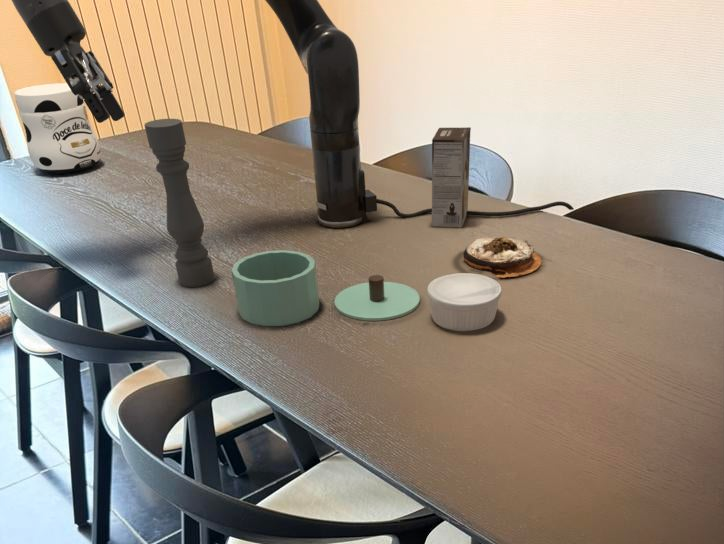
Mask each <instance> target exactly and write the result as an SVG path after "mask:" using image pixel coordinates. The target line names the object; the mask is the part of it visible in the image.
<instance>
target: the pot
mask: <svg viewBox="0 0 724 544" xmlns="http://www.w3.org/2000/svg"><path fill="white" fill-rule="evenodd" d="M230 272H231V277H232V282H233V289H234V292H235V293H234V294H235V299H236V303H237V304H236V305H237V310H238V314H239V315H240V317H241V319H242V320H243V321H245V322H248V323H250V324H252V325H257V326H262V327H284V326H289V325H293V324H297V323H301V322H303V321H305V320H308V319H310V318H312V317H313V316H314V315H315V314H316V313H317V312H318V311H319V310H320V308H319V307H320V302H321V301H320V294H319V284H318V274H317V264H316V260H315V259H314V258H313V257H312V256H311V255H310V254H307V253H304V252H302V251H296V250H288V249H284V250H283V249H282V250H281V249H279V250H267V251H262V252H257V253H253V254H251V255H247V256H244V257H242V258H240V259H239V260H237V261H236V262H235V263H234V264H233V266H232V268H231V271H230Z"/></svg>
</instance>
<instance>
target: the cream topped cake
mask: <svg viewBox="0 0 724 544" xmlns="http://www.w3.org/2000/svg"><path fill="white" fill-rule="evenodd" d="M534 250H535V249H534V247H533V244H530V243H529V240H526V239H520V238H517V237H512V236H490V237H489V236H488V237H480V238H476V239H474V240H473V241H471V242H470V243H468V245H467V246H466V248H465V250H464V251H463V259H464V260H463V262H464V263H465V264H466V265H468V266H469V267H471V268H473V269H478V270H481V271H485V272H489V273H490V274H492V275H493V276H494V277H496V278H497V279H502V278H503V279H505V278H507V277H508V278H511V277H519V276H524V275H527V274H530V273H533V272H534V271H536V270H538V268H539V267H540V266H541V264H542V258H541V257H540V256H539V254H538V253H536V252H535V251H534Z"/></svg>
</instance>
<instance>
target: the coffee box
mask: <svg viewBox="0 0 724 544" xmlns="http://www.w3.org/2000/svg"><path fill="white" fill-rule="evenodd" d="M471 130H472V127H438V129H437V130H436V132H435V134H434V136H433V137H432V139H431V208H432V212H431V227H432V228H433V227H434V228H435V227H438V228H440V227H441V228H462V227H463V226H464V223H465V221H466V218H467V215H466V213H467V211H469V209H468V208H469V185H470V182H469V180H470V155H471V154H470V151H471Z"/></svg>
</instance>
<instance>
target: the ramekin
mask: <svg viewBox="0 0 724 544" xmlns="http://www.w3.org/2000/svg"><path fill="white" fill-rule="evenodd" d="M502 290H503V289H502V286H501V284H500V283H499V282H498V281H497V280H496V279H494V278H492V277H490V276H487V275H483V274H478V273H477V274H476V273H469V272H459V273H457V272H456V273H451V274H446V275H442V276H439V277H437V278H435V279H433V280H432V281H431V282H430V283H429V284H428V286H427V290H426V291H427V298H428V299H429V307H430V313H431V319H432V320H433V322H434V323H435V324H436V325H437V326H439V327H441V328H443V329H446V330H449V331H456V332H472V331H477V330H481V329H484V328H486V327H488V326H490V325H491V324H492V323H493V322H494V320H495V318H496V315H497V310H498V305H499V301H500V299H501V297H502V293H503V291H502Z"/></svg>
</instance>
